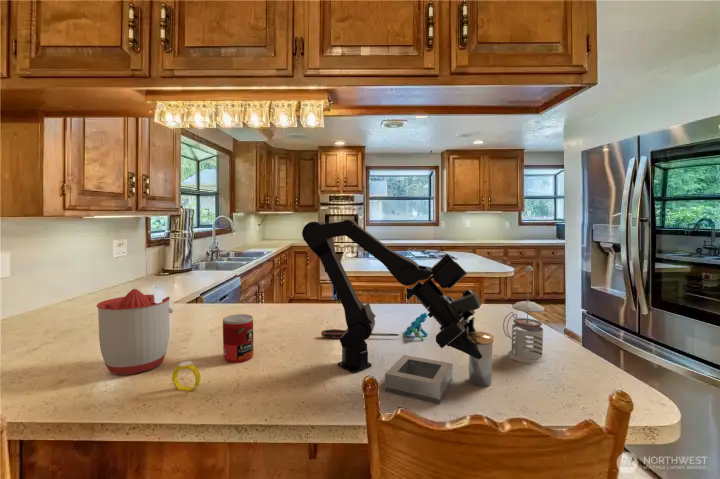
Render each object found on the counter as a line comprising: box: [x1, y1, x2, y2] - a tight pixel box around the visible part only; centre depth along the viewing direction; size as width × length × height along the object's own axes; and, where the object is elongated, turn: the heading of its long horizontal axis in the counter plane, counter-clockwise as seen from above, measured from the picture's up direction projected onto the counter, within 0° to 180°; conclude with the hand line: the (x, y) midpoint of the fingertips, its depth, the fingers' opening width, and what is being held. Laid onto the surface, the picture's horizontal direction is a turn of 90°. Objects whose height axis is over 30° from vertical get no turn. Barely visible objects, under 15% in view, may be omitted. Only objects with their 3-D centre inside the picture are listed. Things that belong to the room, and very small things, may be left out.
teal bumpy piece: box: [403, 312, 429, 341], centre depth 114 cm, size 11×6×10 cm
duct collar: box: [384, 354, 453, 405], centre depth 80 cm, size 12×12×4 cm
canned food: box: [222, 313, 254, 364], centre depth 96 cm, size 8×8×11 cm
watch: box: [171, 360, 201, 392], centre depth 78 cm, size 6×3×6 cm, turn 80°
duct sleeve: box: [468, 331, 494, 388], centre depth 82 cm, size 5×5×11 cm
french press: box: [502, 265, 547, 365], centre depth 97 cm, size 10×12×25 cm
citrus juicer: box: [96, 288, 174, 376], centre depth 91 cm, size 16×17×20 cm
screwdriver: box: [320, 328, 400, 339], centre depth 112 cm, size 25×3×3 cm, turn 87°
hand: (482, 354), depth 81 cm, fingers closed on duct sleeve, 5 cm apart
